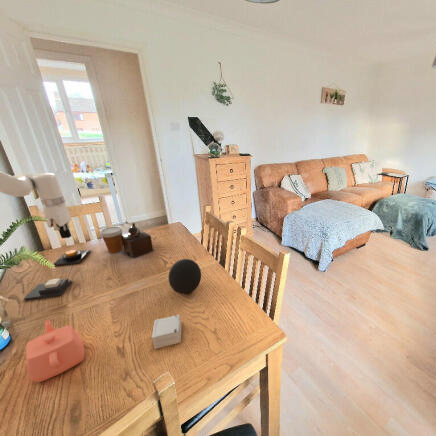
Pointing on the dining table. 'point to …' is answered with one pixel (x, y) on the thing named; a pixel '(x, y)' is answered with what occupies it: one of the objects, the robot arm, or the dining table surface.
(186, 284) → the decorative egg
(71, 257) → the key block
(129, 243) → the brown coffee grinder
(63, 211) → the robot arm
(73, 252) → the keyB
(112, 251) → the disposable coffee cup
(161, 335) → the small box
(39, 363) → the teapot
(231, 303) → the dining table surface
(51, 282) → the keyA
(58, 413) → the dining table surface
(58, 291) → the dark grey base
